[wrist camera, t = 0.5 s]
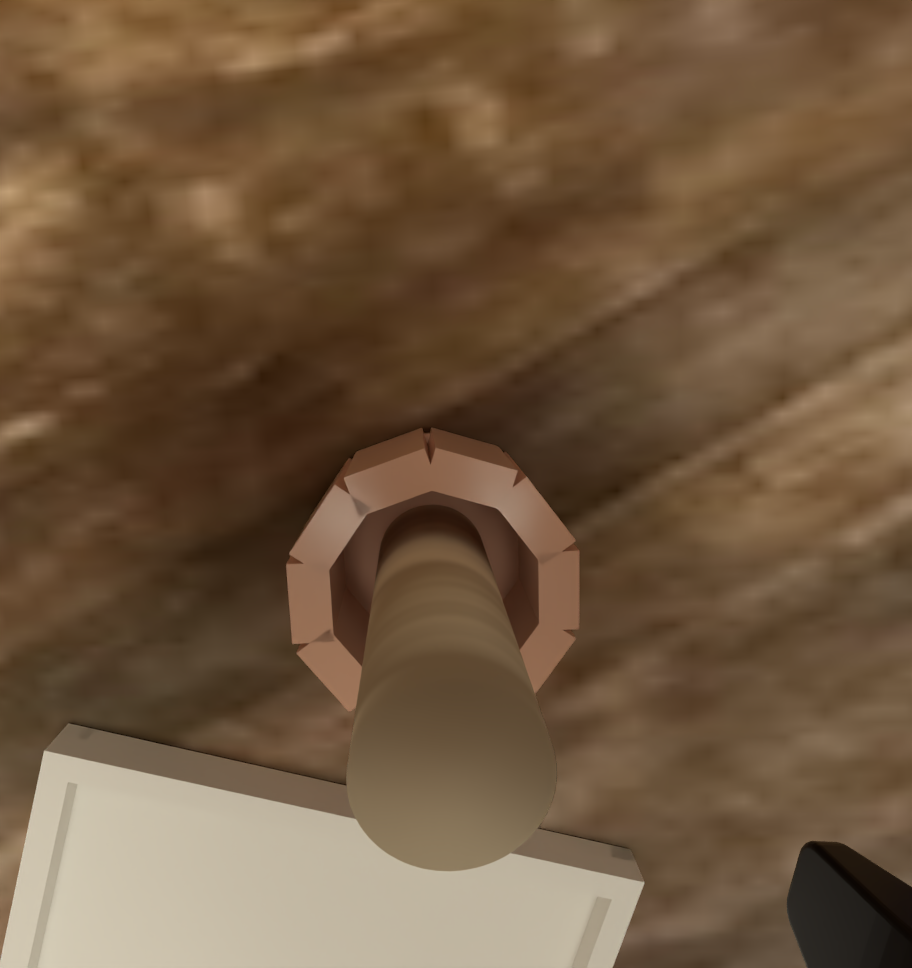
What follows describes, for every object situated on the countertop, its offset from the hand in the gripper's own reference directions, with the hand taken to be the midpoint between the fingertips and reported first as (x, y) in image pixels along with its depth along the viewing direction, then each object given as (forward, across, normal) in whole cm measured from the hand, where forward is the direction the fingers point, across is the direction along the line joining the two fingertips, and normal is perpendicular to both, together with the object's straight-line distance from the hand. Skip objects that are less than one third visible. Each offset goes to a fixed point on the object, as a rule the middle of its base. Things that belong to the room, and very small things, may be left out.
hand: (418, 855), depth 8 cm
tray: (+13, +2, +17) cm, 21 cm away
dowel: (+13, -1, +1) cm, 13 cm away
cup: (+14, -1, +1) cm, 14 cm away
